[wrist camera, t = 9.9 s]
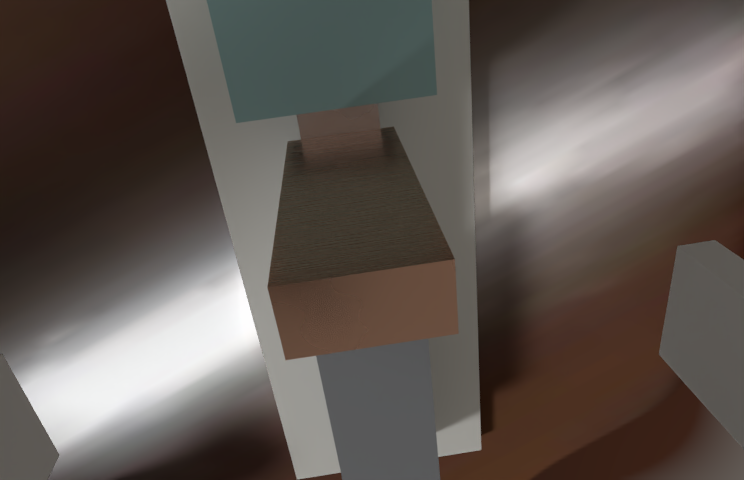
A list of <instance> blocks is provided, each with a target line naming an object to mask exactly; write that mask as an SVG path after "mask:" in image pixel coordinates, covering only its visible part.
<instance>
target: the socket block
mask: <svg viewBox="0 0 744 480" xmlns="http://www.w3.org/2000/svg"><path fill="white" fill-rule="evenodd" d="M207 4H208V8H209V13H210V17H211V21H212V25H213V29H214V33H215V38H216V42H217V46H218V50H219V54H220V58H221V62H222V67H223V71H224V75H225V79H226V83H227V87H228V91H229V96H230V100H231V104H232V108H233V112H234V116H235V121H236V123H241V122H248V121H255V120H262V119H269V118H276V117H284V116H291V115H298V114H305V113H312V112H319V111H326V110H333V109H340V108H348V107H355V106H362V105H369V104H376V103H383V102H390V101H397V100H404V99H412V98H419V97H426V96H433V95H437V85H436V67H435V50H434V33H433V15H432V0H207Z"/></svg>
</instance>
